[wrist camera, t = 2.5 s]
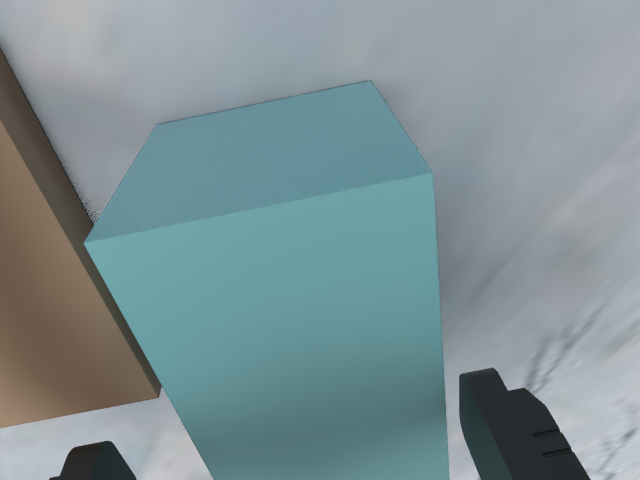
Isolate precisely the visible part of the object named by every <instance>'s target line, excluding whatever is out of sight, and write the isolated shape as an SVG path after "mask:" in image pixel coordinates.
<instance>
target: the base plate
mask: <svg viewBox="0 0 640 480" xmlns="http://www.w3.org/2000/svg"><path fill="white" fill-rule="evenodd" d="M93 227H94V226H93V224H92V223H91V221H90V219H89V217H88V215H87V213H86V211H85V209H84V207H83V205H82V204H81V202H80V200H79V198H78V196H77V194H76V192H75V190H74V188H73V186H72V184H71V183H70V181H69V179H68V177H67V175H66V173H65V171H64V169H63V167H62V165H61V164H60V162H59V160H58V158H57V156H56V154H55V152H54V150H53V148H52V146H51V144H50V143H49V141H48V139H47V137H46V135H45V133H44V131H43V129H42V127H41V125H40V124H39V122H38V120H37V118H36V116H35V114H34V112H33V110H32V108H31V106H30V105H29V103H28V101H27V99H26V97H25V95H24V93H23V91H22V89H21V87H20V85H19V84H18V82H17V80H16V78H15V76H14V74H13V72H12V70H11V68H10V66H9V65H8V63H7V61H6V59H5V57H4V55H3V53H2V51H1V49H0V428H3V427H8V426H14V425H19V424H24V423H29V422H35V421H40V420H45V419H50V418H56V417H61V416H66V415H71V414H77V413H82V412H87V411H92V410H98V409H103V408H108V407H113V406H119V405H124V404H129V403H134V402H140V401H145V400H150V399H155V398H159V394H160V390H161V386H162V385H161V383H160V381H159V379H158V378H157V376H156V374H155V372H154V370H153V368H152V367H151V365H150V363H149V361H148V359H147V358H146V356H145V354H144V352H143V350H142V349H141V347H140V345H139V343H138V341H137V340H136V338H135V336H134V334H133V332H132V330H131V329H130V327H129V325H128V323H127V321H126V320H125V318H124V316H123V314H122V312H121V311H120V309H119V307H118V305H117V303H116V301H115V300H114V298H113V296H112V294H111V292H110V291H109V289H108V287H107V285H106V283H105V282H104V280H103V278H102V276H101V274H100V272H99V271H98V269H97V267H96V265H95V263H94V262H93V260H92V258H91V256H90V254H89V253H88V251H87V249H86V247H85V245H84V244H83V243H84V241H85V240H86V238H87V237H88V235H89V233H90V232H91V230H92V229H93Z"/></svg>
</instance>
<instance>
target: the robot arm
mask: <svg viewBox="0 0 640 480" xmlns="http://www.w3.org/2000/svg"><path fill="white" fill-rule="evenodd" d="M459 414H460V422H461V427H462V431H463V435H464V438H465V441H466V443H467V446H468V448H469V451H470V453H471V456H472V458H473V461H474V463H475V466H476V468H477V471H478V473H479V476H480V478H481V480H590V478H589V476H588V475H587V473H586V471H585V470H584V468H583V466H582V465H581V463H580V462H579V460H578V458H577V457H576V455H575V453H574V452H572V450H571V447H570V445H569V443H568V442H567V440H566V438H565V437H564V435H563V434H562V433H561V432H560V430H559V427H558V425H557V424H556V422H555V420H554V419H553V417H552V415H551V414H550V412H549V411H548V409H547V407H546V406H545V405H544V404H543V403H542V402H541V401H539V400H538V399H537V398H536V397H535V396H533V395H532V394H531V393H530V392H529V391H527V390H526V389H525V388H521V389H516V390H511V391H508V390H507V388H506V386H505V385H504V383H503V381H502V379H501V377H500V375H499V374H498V372H497V371H496V370H495V369H494V368H489V369H484V370H478V371H473V372H468V373H463V374H460V377H459ZM49 480H136V477H135V475H134V474H133V472H132V471H131V469H130V468H129V466H128V465H127V463H126V462H125V460H124V459H123V457H122V456H121V454H120V453H119V451H118V450H117V448H116V447H115V445H114V444H113V443H112V442H111V441H104V442H99V443H94V444H88V445H83V446H78V447H75V448H73V449H72V450H71V451H70V452H69V454H68V456H67V458H66V461H65V463H64V466H63V469H62V471H61V474H60V476H58V477H53V478H50V479H49Z"/></svg>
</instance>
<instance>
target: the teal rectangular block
mask: <svg viewBox="0 0 640 480" xmlns="http://www.w3.org/2000/svg"><path fill="white" fill-rule="evenodd" d="M83 244H84V245H85V247H86V249H87V251H88V253H89V254H90V256H91V258H92V260H93V262H94V263H95V265H96V267H97V269H98V271H99V272H100V274H101V276H102V278H103V280H104V282H105V283H106V285H107V287H108V289H109V291H110V292H111V294H112V296H113V298H114V300H115V301H116V303H117V305H118V307H119V309H120V311H121V312H122V314H123V316H124V318H125V320H126V321H127V323H128V325H129V327H130V329H131V330H132V332H133V334H134V336H135V338H136V340H137V341H138V343H139V345H140V347H141V349H142V350H143V352H144V354H145V356H146V358H147V359H148V361H149V363H150V365H151V367H152V368H153V370H154V372H155V374H156V376H157V378H158V379H159V381H160V383H161V385H162V387H163V388H164V390H165V392H166V394H167V396H168V397H169V399H170V401H171V403H172V405H173V407H174V408H175V410H176V412H177V414H178V416H179V417H180V419H181V421H182V423H183V425H184V426H185V428H186V430H187V432H188V434H189V436H190V437H191V439H192V441H193V443H194V445H195V446H196V448H197V450H198V452H199V454H200V455H201V457H202V459H203V461H204V463H205V465H206V466H207V468H208V470H209V472H210V474H211V475H212V477H213V479H214V480H450V478H449V459H448V441H447V422H446V403H445V385H444V366H443V348H442V329H441V310H440V292H439V273H438V255H437V236H436V217H435V199H434V180H433V172H432V171H431V169H430V168H429V166H428V165H427V163H426V162H425V160H424V159H423V157H422V156H421V154H420V153H419V151H418V150H417V148H416V147H415V145H414V144H413V142H412V141H411V139H410V138H409V136H408V135H407V133H406V132H405V130H404V129H403V128H402V126H401V125H400V123H399V122H398V120H397V119H396V117H395V116H394V114H393V113H392V111H391V110H390V108H389V107H388V105H387V104H386V102H385V101H384V99H383V98H382V96H381V95H380V93H379V92H378V90H377V89H376V87H375V86H374V84H373V83H372V81H371V80H370V81H365V82H360V83H355V84H350V85H346V86H341V87H336V88H331V89H326V90H322V91H317V92H312V93H307V94H302V95H297V96H293V97H288V98H283V99H278V100H273V101H269V102H264V103H259V104H254V105H249V106H244V107H240V108H235V109H230V110H225V111H220V112H215V113H211V114H206V115H201V116H196V117H191V118H187V119H182V120H177V121H172V122H167V123H162V124H158V125H156V127H155V128H154V130H153V131H152V133H151V135H150V136H149V138H148V139H147V141H146V143H145V144H144V146H143V148H142V149H141V151H140V152H139V154H138V156H137V157H136V159H135V161H134V162H133V164H132V165H131V167H130V169H129V170H128V172H127V173H126V175H125V177H124V178H123V180H122V182H121V183H120V185H119V186H118V188H117V190H116V191H115V193H114V195H113V196H112V198H111V199H110V201H109V203H108V204H107V206H106V207H105V209H104V211H103V212H102V214H101V216H100V217H99V219H98V220H97V222H96V224H95V225H94V227H93V229H92V230H91V232H90V233H89V235H88V237H87V238H86V240H85V241H84V243H83Z"/></svg>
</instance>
